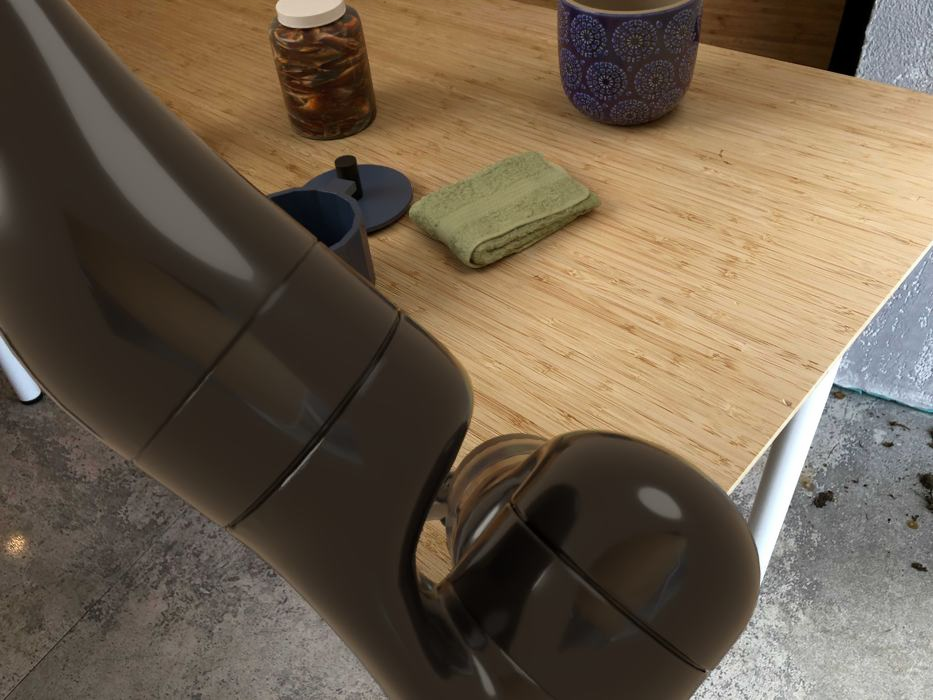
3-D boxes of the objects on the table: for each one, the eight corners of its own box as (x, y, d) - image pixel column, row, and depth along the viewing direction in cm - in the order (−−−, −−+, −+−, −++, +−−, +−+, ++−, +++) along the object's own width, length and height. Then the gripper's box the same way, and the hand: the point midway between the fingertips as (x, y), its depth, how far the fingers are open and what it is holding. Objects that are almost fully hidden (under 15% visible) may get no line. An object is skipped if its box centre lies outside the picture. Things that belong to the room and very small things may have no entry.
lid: (271, 227, 93) (258, 183, 89) (334, 165, 102) (324, 122, 98) (377, 250, 88) (368, 205, 85) (434, 183, 97) (428, 138, 93)
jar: (396, 107, 111) (379, -9, 101) (336, 149, 104) (310, 29, 94) (331, 88, 117) (308, -24, 106) (270, 126, 110) (239, 11, 100)
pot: (209, 337, 81) (181, 266, 75) (309, 232, 92) (291, 163, 86) (319, 368, 76) (298, 296, 70) (409, 254, 88) (398, 183, 82)
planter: (632, 154, 98) (639, 27, 88) (530, 109, 108) (526, -10, 97) (720, 100, 105) (736, -23, 95) (618, 63, 115) (622, -52, 105)
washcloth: (607, 210, 90) (608, 184, 88) (473, 280, 84) (471, 253, 81) (530, 163, 98) (530, 138, 96) (403, 222, 92) (398, 197, 90)
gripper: (663, 418, 40) (602, 406, 56) (364, 460, 40) (389, 436, 56) (686, 577, 40) (618, 519, 56) (386, 620, 40) (405, 549, 56)
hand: (504, 477), depth 56 cm, fingers open, 8 cm apart
